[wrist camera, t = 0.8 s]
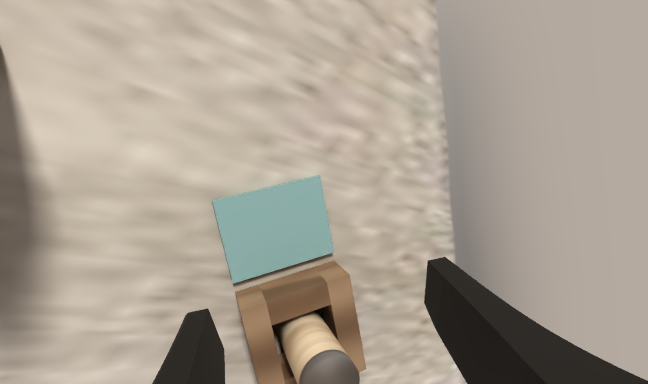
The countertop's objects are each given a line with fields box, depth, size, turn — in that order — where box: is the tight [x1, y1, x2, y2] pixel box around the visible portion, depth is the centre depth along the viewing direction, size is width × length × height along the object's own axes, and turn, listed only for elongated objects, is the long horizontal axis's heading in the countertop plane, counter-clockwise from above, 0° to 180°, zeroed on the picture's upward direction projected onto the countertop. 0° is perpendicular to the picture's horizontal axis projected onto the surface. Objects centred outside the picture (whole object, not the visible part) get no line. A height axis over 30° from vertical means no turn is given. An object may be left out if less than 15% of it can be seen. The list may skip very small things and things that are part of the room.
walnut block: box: [235, 261, 366, 384], centre depth 30 cm, size 9×9×4 cm
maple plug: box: [275, 310, 359, 384], centre depth 28 cm, size 4×4×9 cm
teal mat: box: [212, 175, 334, 283], centre depth 30 cm, size 7×9×1 cm
